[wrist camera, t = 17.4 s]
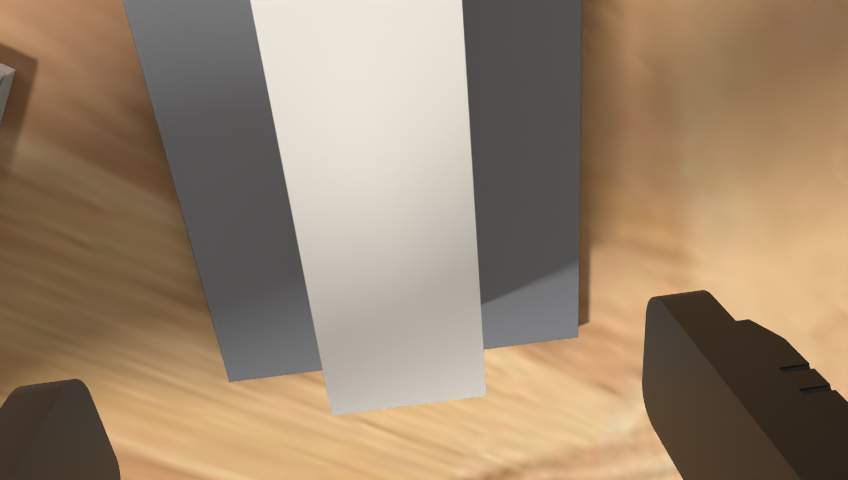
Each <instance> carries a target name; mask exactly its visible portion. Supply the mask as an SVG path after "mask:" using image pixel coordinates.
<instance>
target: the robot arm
mask: <svg viewBox="0 0 848 480" xmlns="http://www.w3.org/2000/svg"><path fill="white" fill-rule="evenodd" d="M642 390H643V398H644V403H645V407H646V411H647V414H648V417H649V419H650V422H651V424H652V426H653V428H654V430H655V431H656V433H657V435H658V437H659V438H660V440H661V442H662V444H663V445H664V447H665V449H666V450H667V452H668V454H669V456H670V457H671V459H672V461H673V463H674V464H675V466H676V468H677V470H678V471H679V473H680V475H681V476H682V478H683V480H848V402H847V401H846V400H845V399H844V398H843V397H842V396H841V395H840V394H839V393H838V392H837V391H836V390H833V391H832V390H831V388H830V384H829V383H828V382H827V381H826V380H825V379H824V378H823V377H822V376H821V375H820V374H819V373H818V372H817V371H816V370H815V369H810V366H809V363H808V362H807V361H806V360H805V359H804V358H803V357H802V356H801V355H800V354H799V353H798V352H797V351H796V350H795V349H794V348H793V347H792V346H791V345H790V344H789V343H788V342H787V341H786V340H785V339H784V338H783V337H781V336H779V335H777V334H775V333H773V332H772V331H770V330H768V329H766V328H764V327H762V326H760V325H759V324H757V323H755V322H753V321H751V320H749V319H748V320H741V321H735V320H734V318H733V317H732V316H731V315H730V314H729V313H728V312H727V311H726V310H725V309H724V308H723V307H722V305H721V304H720V303H719V302H718V301H717V300H716V299H715V298H714V297H713V296H712V295H711V294H710V293H709V292H707V291H705V290H700V291H693V292H686V293H679V294H671V295H664V296H657V297H652V298H651V299H650V300H649V302H648V305H647V310H646V324H645V341H644V358H643V376H642ZM0 480H120V470H119V465H118V461H117V458H116V456H115V453H114V451H113V448H112V446H111V444H110V441H109V439H108V436H107V434H106V431H105V429H104V426H103V424H102V421H101V419H100V417H99V414H98V412H97V409H96V407H95V404H94V402H93V399H92V397H91V395H90V392H89V390H88V388H87V387H86V385H85V384H84V383H83V382H82V381H81V380H79V379H71V380H64V381H56V382H49V383H42V384H35V385H28V386H20V387H18V388H16V389H15V390H14V391H13V392H12V393H11V394H10V395H9V397H8V398H7V400H6V401H5V403H4V404H3V405H2V407H1V408H0Z"/></svg>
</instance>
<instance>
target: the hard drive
mask: <svg viewBox="0 0 848 480" xmlns="http://www.w3.org/2000/svg"><path fill="white" fill-rule="evenodd" d="M15 71H16V70H15V69H13V68H11V67H9V66H7V65H4V64H2V63H0V124H1V121H2V117H3V113H4V110H5V106H6V103H7V99H8V95H9V92H10V88H11V85H12V81H13V78H14V75H15Z"/></svg>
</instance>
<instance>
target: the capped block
mask: <svg viewBox="0 0 848 480" xmlns="http://www.w3.org/2000/svg"><path fill="white" fill-rule="evenodd" d="M250 2H251V7H252V12H253V17H254V22H255V27H256V32H257V38H258V43H259V48H260V53H261V58H262V63H263V68H264V73H265V78H266V83H267V89H268V94H269V99H270V104H271V109H272V114H273V119H274V124H275V129H276V135H277V140H278V145H279V150H280V155H281V160H282V165H283V170H284V175H285V180H286V186H287V191H288V196H289V201H290V206H291V211H292V216H293V221H294V226H295V231H296V237H297V242H298V247H299V252H300V257H301V262H302V267H303V272H304V277H305V282H306V288H307V293H308V298H309V303H310V308H311V313H312V318H313V323H314V328H315V334H316V339H317V344H318V349H319V354H320V359H321V364H322V369H323V374H324V379H325V385H326V390H327V395H328V400H329V405H330V410H331V415H332V416H333V415H341V414H349V413H356V412H364V411H372V410H380V409H388V408H395V407H403V406H411V405H419V404H427V403H434V402H442V401H450V400H458V399H466V398H473V397H481V396H486V382H485V366H484V350H483V334H482V317H481V301H480V285H479V269H478V253H477V237H476V220H475V204H474V188H473V172H472V156H471V139H470V123H469V107H468V91H467V75H466V59H465V42H464V26H463V10H462V0H250Z"/></svg>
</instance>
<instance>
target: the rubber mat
mask: <svg viewBox="0 0 848 480" xmlns="http://www.w3.org/2000/svg"><path fill="white" fill-rule="evenodd" d="M123 3H124V7H125V10H126V14H127V17H128V21H129V25H130V28H131V32H132V35H133V39H134V42H135V46H136V50H137V53H138V57H139V60H140V64H141V67H142V71H143V75H144V78H145V82H146V85H147V89H148V92H149V96H150V100H151V103H152V107H153V110H154V114H155V117H156V121H157V125H158V128H159V132H160V135H161V139H162V142H163V146H164V150H165V153H166V157H167V160H168V164H169V168H170V171H171V175H172V178H173V182H174V185H175V189H176V193H177V196H178V200H179V203H180V207H181V210H182V214H183V218H184V221H185V225H186V228H187V232H188V235H189V239H190V243H191V246H192V250H193V253H194V257H195V260H196V264H197V268H198V271H199V275H200V278H201V282H202V285H203V289H204V293H205V296H206V300H207V303H208V307H209V310H210V314H211V318H212V321H213V325H214V328H215V332H216V335H217V339H218V343H219V346H220V350H221V353H222V357H223V360H224V364H225V368H226V371H227V375H228V378H229V382H234V381H241V380H249V379H257V378H265V377H273V376H280V375H288V374H296V373H304V372H311V371H319V370H323V369H322V364H321V359H320V354H319V349H318V344H317V339H316V334H315V328H314V323H313V318H312V313H311V308H310V303H309V298H308V293H307V288H306V282H305V277H304V272H303V267H302V262H301V257H300V252H299V247H298V242H297V237H296V231H295V226H294V221H293V216H292V211H291V206H290V201H289V196H288V191H287V186H286V180H285V175H284V170H283V165H282V160H281V155H280V150H279V145H278V140H277V135H276V129H275V124H274V119H273V114H272V109H271V104H270V99H269V94H268V89H267V83H266V78H265V73H264V68H263V63H262V58H261V53H260V48H259V43H258V38H257V32H256V27H255V22H254V17H253V12H252V7H251V2H250V0H123ZM462 10H463V26H464V42H465V59H466V75H467V91H468V107H469V123H470V139H471V156H472V172H473V188H474V204H475V220H476V237H477V253H478V269H479V285H480V301H481V317H482V334H483V349H491V348H498V347H506V346H514V345H522V344H530V343H537V342H545V341H553V340H561V339H569V338H576V337H578V307H579V218H580V129H581V40H582V0H462Z"/></svg>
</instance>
